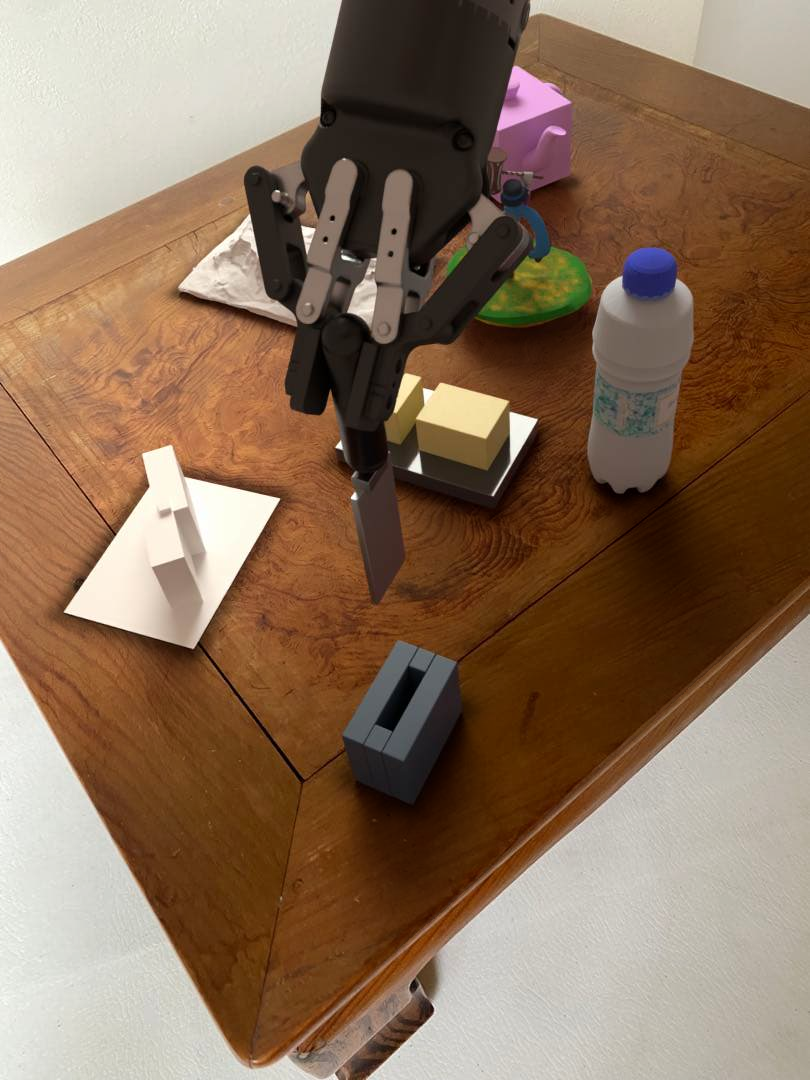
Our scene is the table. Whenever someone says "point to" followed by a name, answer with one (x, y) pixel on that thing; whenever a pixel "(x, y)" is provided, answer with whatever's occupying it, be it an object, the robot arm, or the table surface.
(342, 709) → the table surface
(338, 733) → the table surface
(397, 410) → the butter pat
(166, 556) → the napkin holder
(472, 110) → the robot arm
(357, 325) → the knife
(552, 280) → the figurine
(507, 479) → the board
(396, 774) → the knife stand
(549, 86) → the teapot
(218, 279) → the terrain model
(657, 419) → the bottle
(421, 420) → the butter block
